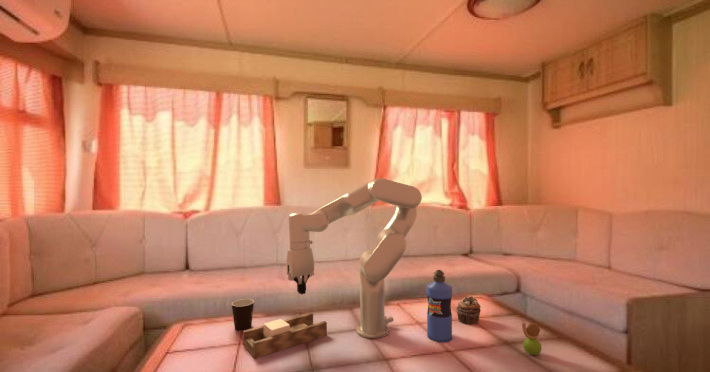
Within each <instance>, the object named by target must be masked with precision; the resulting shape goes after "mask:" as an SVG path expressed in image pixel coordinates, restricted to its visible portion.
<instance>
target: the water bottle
mask: <svg viewBox="0 0 710 372" xmlns="http://www.w3.org/2000/svg"><path fill="white" fill-rule="evenodd" d="M433 274H434V275H432V277H433V278H432V279H433V281H432V282H430V283H428V284H427V285H426V296H427V305H428V307H427V312H426V317H427V318H426V322H427V324H426V325H427V326H426V329H427V330H426V331H427V332H426V334H427V335H426V336H427V337H426V338H428V339H429V340H430V341H432V342H436V343H449V342H450V341H452V340H453V322H452V321H453V314H452V306H451V305H452V297H453V286H452V285H450V284H449V283H447V282H445V281H446V276H445V272H443V270H442V269H437V270H435V271H434V272H433Z"/></svg>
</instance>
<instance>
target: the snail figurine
mask: <svg viewBox="0 0 710 372" xmlns="http://www.w3.org/2000/svg"><path fill="white" fill-rule="evenodd" d="M520 320H521V328H522V332H523V334H524V337H526V338H525V339H524V341H523V343H522V345H523V346H522V347H523V349H524V351H525V352H526V353H528V354H529V355H531V356H537V355H539V354H540V353H541V352H542V348H543V347H542V344H541V342H540V341H539V340H538V338H539V337H540V332H541V329H540V326H539V325H538V324H536V323H533V322H531V323H529V324H528V325H527V323H526V322H524V321H525V319H524V318H521V319H520Z"/></svg>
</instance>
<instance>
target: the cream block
mask: <svg viewBox="0 0 710 372" xmlns="http://www.w3.org/2000/svg"><path fill="white" fill-rule="evenodd" d="M284 320H285V319H283V318H280V319H275V320H272V321H268V322H265V323H263V326H264V335H265V336H266V337H267V338H268V337H272V336H275V335H279V334H282V333H285V332H289V331H290V325H289V324H288V323H287V322H285V321H284Z"/></svg>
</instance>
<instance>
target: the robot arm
mask: <svg viewBox="0 0 710 372" xmlns="http://www.w3.org/2000/svg"><path fill="white" fill-rule="evenodd" d="M422 196H423V195H422V193H421V191H420V190H419V188H417V187H415V186H413V185H409V184H406V183H401V182H397V181H394V180H390V179H387V178H384V177H380V178H379V177H378V178H374V179H372V180H369V181H368V182H366V183H364V184H362V185H361V186H358V187H357V188H355V189H353V190H350V191H349V192H346V193H344V194H343V195H342V196H340V197H339V198H337V199H335V200H333V201H331V202H329V203H328V204H326V205H324V206H322V207H320V208H318V209H316V210H315V211H312V213H307V212H294V213H293V212H292V213H291V214H289V215H288V233H289V248H288V249H287V252H286V253H287V254H286V259H285V260H286V263H285V272H286V273H285V274H286V275H287V280H288V281H290V282H292V281H294V282H295V283H296V290H297V293H298V294H300V295H305V294H306V292H307V282H308V280H309V279H310V278H311V277H313V276H314V275H315V260H314V258H315V257H314V253H313V250H312V247H311V244H313V241H312V240H311V239H310V232H311V233H313V232H314V233H322V232H325V230H326V229H328V227H329V226H330V225H331V224H332V223H333V222H335V221H337V220H338V221H339V220H340V219H342V218H344V217H348V216H353V215H356V214H358V213H359V212H361V211H363V210H365V209H367V208H368V207H371V206H372V205H375V204H376V203H378V202H382V203H386V204H389V205H393V206H396V208H395V212H394V214H393V215H392V217H391V219H390V220H389V221H388V223H386V224H385V227H384V228H383V229H382V230H381V231H380V233H379V234H378V236H377V238H376V244H377V246H376V248H375V249H367V250H365V251H364V252H363V253H362V254H360V257H359V260H358V261H359V262H358V267H359V268H358V269H359V271H358V272H359V304H360V305H359V306H360V307H359V308H360V309H359V312H360V314H359V321H360V322H359V324H358V325H357V326H356V328H355V329H356V333H357V335H359V336H361V337H363V338H367V339H378V338H382V337H385V336H387V335H388V334H389V332H390V331H389V326H388V324H389V323H393V322H394V317H393V316H388V317H387V316H386V315H385V278H387V277H388V275H389V274H390V273H391V272H392V270H393V269H394V267H395V266H396V265H397V264H398V262H400V260H401V258H402V257H403V255H404V254H405V252H406V249H407V239H406V237H407V235H408V234H409V232H410V231H411V229H412V227H413V226H414V224H415V222H416V219H417V213H418V212H417V208H418V206H419V205H420V204H421V203H422V198H423V197H422Z"/></svg>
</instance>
